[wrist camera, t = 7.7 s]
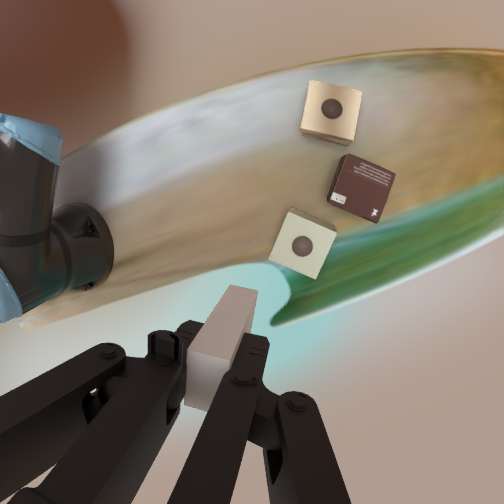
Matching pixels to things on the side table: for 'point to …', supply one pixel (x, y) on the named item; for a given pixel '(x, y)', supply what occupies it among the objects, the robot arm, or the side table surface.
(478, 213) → the side table surface
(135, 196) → the side table surface
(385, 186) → the box
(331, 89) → the beech block marked
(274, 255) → the sage block partly covered
